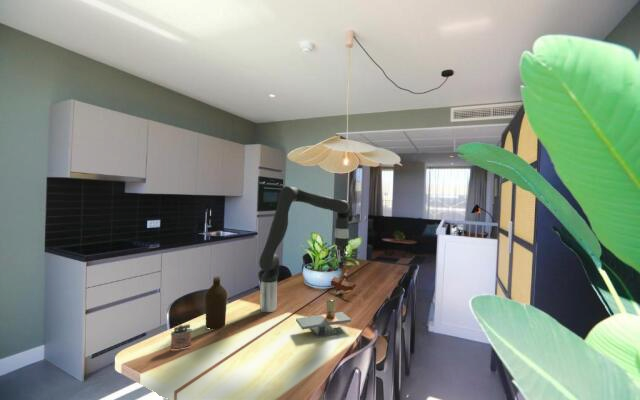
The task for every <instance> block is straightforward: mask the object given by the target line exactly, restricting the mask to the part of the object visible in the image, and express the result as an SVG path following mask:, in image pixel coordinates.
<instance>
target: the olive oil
mask: <svg viewBox="0 0 640 400" xmlns="http://www.w3.org/2000/svg"><path fill="white" fill-rule="evenodd" d="M204 300H205V301H204V303H205V304H204V305H205V307H204V308H205V328H206V327H207V328H210V329H215V330H219V329H218V328H220V329H222V328H224V327H225V326H226V315H227V314H226V313H227V304H228V303H227V302H228V301H227V300H228V293H227V290H226V288H225V287H224V286H223V285H221V276H218V275H217V276H214V277H213V280H212V285H211V286H210V287H209V289H207V291H206V292H205V296H204ZM223 326H224V327H223ZM221 327H222V328H221ZM207 328H206V329H207ZM210 329H209V330H210Z"/></svg>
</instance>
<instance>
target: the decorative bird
mask: <svg viewBox="0 0 640 400" xmlns="http://www.w3.org/2000/svg"><path fill="white" fill-rule="evenodd" d="M349 272H350V267H347V269H346V270H345V272H344V274H343V276H342V278H339V277H336V276H334V278H333V279H332V281H330V285H331V286H332V287H334V288H335V290H334V292H333V295H334V296H337V295H340V294H341V293H340V292H342V291H343V292H344V293H345V292H346V293H347V294H348V293H350V291H353V290H354V289H355V288H356V286H357V285H356V284H355V283H352V282H349V281H346V280H347V276H348V274H349Z"/></svg>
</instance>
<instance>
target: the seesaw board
mask: <svg viewBox="0 0 640 400" xmlns="http://www.w3.org/2000/svg"><path fill="white" fill-rule="evenodd" d="M295 322H297V324H298V326H299V327H300V328H301V329H302V330H303V331H304V330H309V329H311V328H316V327H322V326H328V325H330V326H334V325H340V324H347V323H351V322H352V319H351V318H350V317H349V316H348V315H347V314H345V313H344V312H343V311H338V312H335V318H334V319H327V318H326V313H324V314H322V313H321V314H319V315H311V316H304V317H298V318H297V317H296V318H295Z"/></svg>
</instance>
